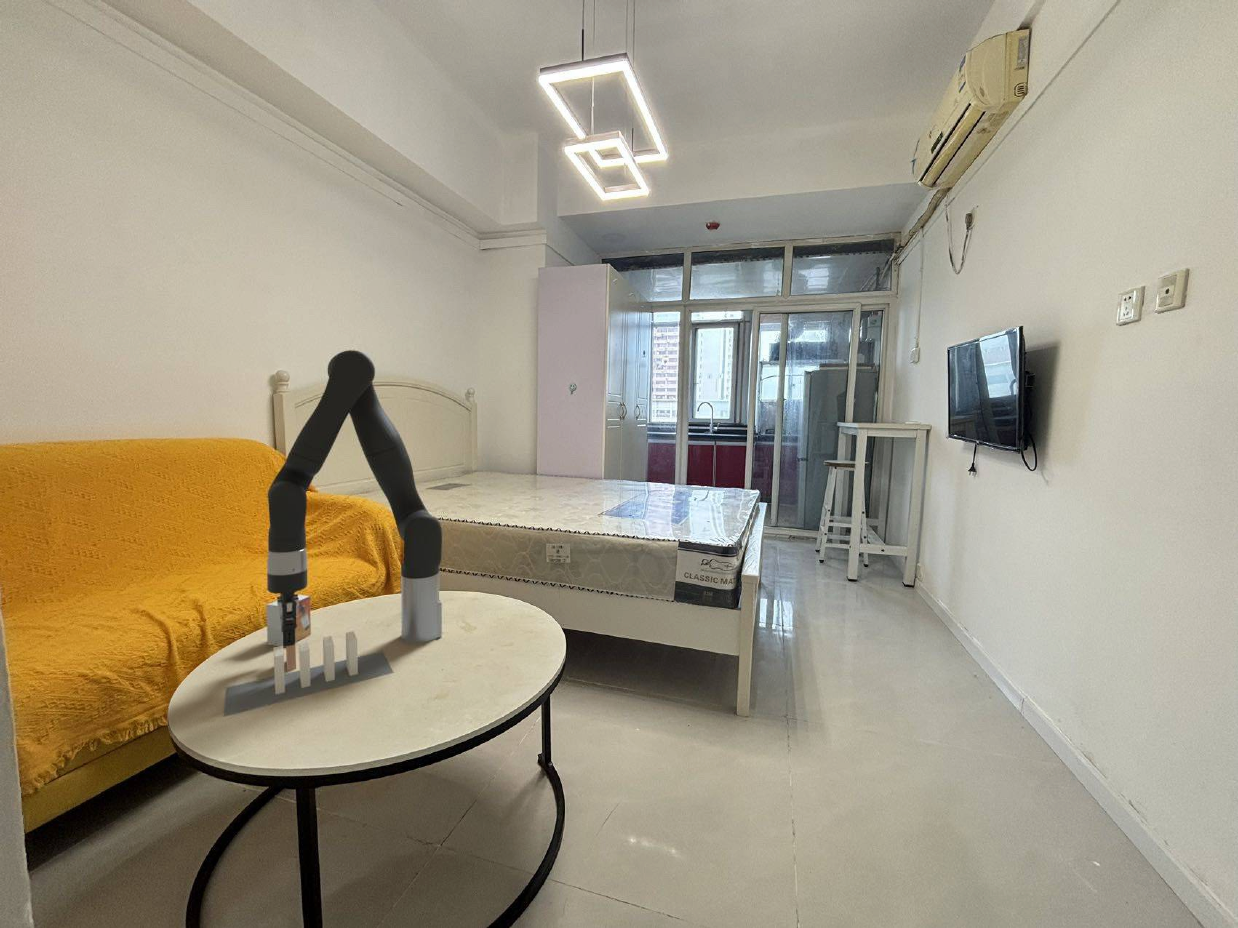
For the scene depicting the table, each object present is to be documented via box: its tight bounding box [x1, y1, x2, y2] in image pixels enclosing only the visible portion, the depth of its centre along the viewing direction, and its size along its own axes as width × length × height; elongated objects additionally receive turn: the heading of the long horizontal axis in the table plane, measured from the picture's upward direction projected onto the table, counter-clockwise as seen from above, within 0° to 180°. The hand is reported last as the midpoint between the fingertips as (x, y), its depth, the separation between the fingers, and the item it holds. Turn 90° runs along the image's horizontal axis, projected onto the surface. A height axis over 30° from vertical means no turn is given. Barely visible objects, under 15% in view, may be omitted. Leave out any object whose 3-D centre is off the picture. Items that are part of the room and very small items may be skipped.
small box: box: [266, 594, 312, 648], centre depth 126 cm, size 8×6×10 cm
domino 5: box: [345, 630, 359, 676], centre depth 112 cm, size 2×5×8 cm, turn 36°
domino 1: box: [273, 646, 285, 694], centre depth 104 cm, size 2×5×8 cm, turn 36°
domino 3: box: [298, 640, 311, 688], centre depth 106 cm, size 2×5×8 cm, turn 36°
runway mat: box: [223, 650, 395, 717], centre depth 107 cm, size 30×12×1 cm, turn 126°
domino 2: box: [285, 643, 297, 671], centre depth 113 cm, size 2×5×8 cm, turn 36°
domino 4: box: [322, 635, 335, 682], centre depth 109 cm, size 2×5×8 cm, turn 36°
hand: (288, 638), depth 113 cm, fingers open, 8 cm apart
